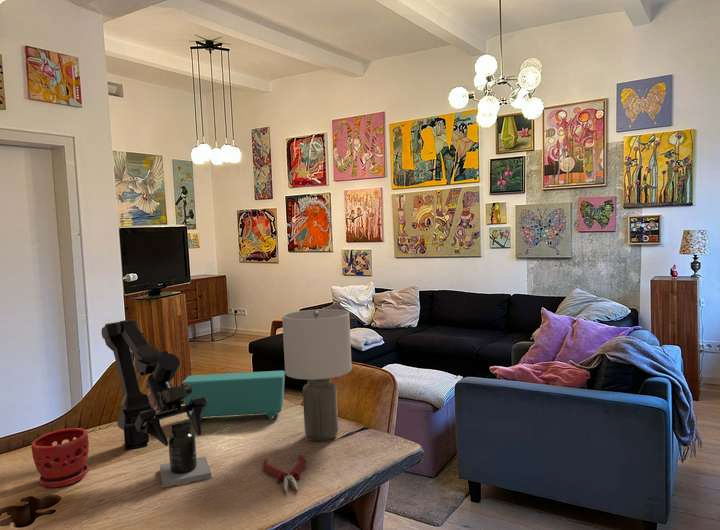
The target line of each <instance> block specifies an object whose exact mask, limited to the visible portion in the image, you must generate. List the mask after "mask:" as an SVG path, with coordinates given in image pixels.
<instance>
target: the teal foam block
mask: <svg viewBox="0 0 720 530" xmlns="http://www.w3.org/2000/svg"><path fill="white" fill-rule="evenodd" d="M285 379H286V374H285V370H271V371H270V370H268V371H253V372H252V371H251V372H249V371H248V372H231V373H215V374H214V373H212V374H197V375H188V376H187V377H186V378H184V380H183V381H182V382H181V384H183V383H186V382H189V383H190V385H191V387H192V393H190V394H188V395H187V396H188V397H185V398H183V399H184V402H183V403H184V405H188V404H189V402H190V400H191V399H193V398H196V397H200V396H203V397H205V398H206V400H207V402H208V404H207V405H206V407H205V409H204V411H203V413H201V415H200V423H201V421H202V419H203V418H212V417H213V418H215V417H217V418H218V417H229V416H246V415H248V416H249V415H263V414H264V415H265V414H266V416H267V417H268V418H269V419H270V418H272V417H273V416H274V415H275V414H276V413H277V414H279V413H281V412H282V409H283V405H284V399H285V397H284V394H285ZM181 384H180V385H181ZM185 414H186V417H187V418H188V419H189V418H190V416H189V415H188V414H187V412H186V413H185ZM277 414H276V415H277ZM276 415H275V416H276Z"/></svg>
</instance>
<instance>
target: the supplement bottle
mask: <svg viewBox="0 0 720 530" xmlns="http://www.w3.org/2000/svg"><path fill="white" fill-rule="evenodd" d="M191 426H192V424H191V422H190V421H181V422H176V423H173V424H172V425H171V435H170V436H169V438H168V439H167V441H168V457H169V463H170V470H171V472H173V473H177V474H180V473H187V472H190V471H192V470H194V469H195V468H196V466H197V458H198V457H197V444H196V443H197V442H196V435H195V433H194V432H192V427H191Z"/></svg>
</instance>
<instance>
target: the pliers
mask: <svg viewBox="0 0 720 530" xmlns="http://www.w3.org/2000/svg"><path fill="white" fill-rule="evenodd" d="M298 460H299V461H298V463H296V465H295V466H294V467H293V468H292V469H291V470H290V471H289V472H288V473H287V472H286V471H283V470H281V469H278V467H274V466H273V465H270V464H269V461H268V458H265V459H264V460H263V462H262V468H263V469H262V470H263V472H264V473H265V474H266V475H268V476H270V477H271V478H273V479H275V480H276V484H277V485H279V484H282V483H283V489H284V492H285V495H288V491H289V485H291V487H292V489H293V490H294V491H296V492H297V493H298V492H299V488H298V483H297V482H298V481H300V480H301V473H302V472H303V471H304V470H305V468H306V466H307V461H306V457H304V455H303V454H299V455H298Z"/></svg>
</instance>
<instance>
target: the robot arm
mask: <svg viewBox="0 0 720 530" xmlns="http://www.w3.org/2000/svg"><path fill="white" fill-rule="evenodd" d="M101 337H102V339H103V340H104V342H105V346H106V347H108V348H109V350H111V351H112V352H113V356H114V359H115V363H116V364H115V365H116V368H117V372H118V377H119V381H120V386H121V389H122V394H123V398H122V400H121V403H120V405H119V407H120V412H119V415H118V417H117V419H116V422H117V423H116V424H117V428H119V429H121V430H123V438H124V439H123V440H124V445H123V446H124V450H126V451H127V450H131V449H137V448H142V447H147V446H148V443H149V442H150V439H149V438H150V437H149V436H152V437H153V438H155V439H156V440H158V441H159V442H160V443H161V444H163V445H164V446H165V447H169V443H168V437H167V436H166V433H165V432H164V429H163V428H162V426H161V420H163V419H166V418H170V417H174V416H178V415H182V414H186V415H187V414H188V415H189V416H190V418H188V420H189V423H190V425H191V426H192V427H193V429H194V431H195V433H196V435H197V436H199V437H200V436H201V434H202V427H201V422H200V415H201V413H203V411H204V409H205V407H206V405H207V404H208V402H207V400H206V398H205V397H203V396H200V397H196V398H193V399H191V400H190V402H189V404H188V405H185V404H184V405H182V404H183V403H185V402H184V398H185V397H188V396H187V395H188V394H190V393H192V387H191V385H190V383H189V382H186V383H183V384H180V386H173V383H172V382H171V381H172V380H173V379H174V376H175V375H176V372H177V371H178V369H179V366H180V364H181V363H180V359H179V357H178V356H176V355H175V354H173V353H170V352H169V351H168V350H162V351H160V350H159V349H158V348H156V347H154V346H151V345H150V344H149V342H148V341H147V339H146V338H145V336H144V334H143V333H142V332H141V330H140V329H139V327H138V324H137V321H136V320H135V319H125V320H120V321H116V322H108V323H105V324H104V327H102V328H101ZM132 354H133V355H134V357H135V360H134V359H133V357H132ZM133 360H134V361H135V362H134V361H133ZM136 372H137V373H138V374H139V376H141V377H142V376H148V377H147V380H146V383H145V386H146V387H145V388H146V389H149V390H150V393H151V396H152V398H153V402H152V404H153V406H156V408H157V409H158V412H156V410H155V409H154V408H153V407H152V404H151V402H150V400H149V396H148V394H146V393H143V392H142V391H141V390H140V386H139V381H138V378H137V374H136ZM186 412H187V413H186Z"/></svg>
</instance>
